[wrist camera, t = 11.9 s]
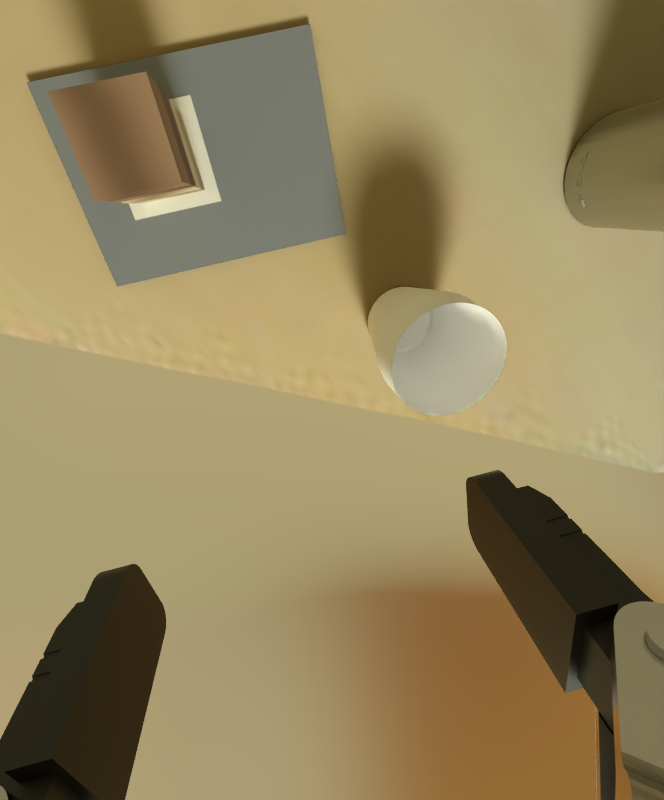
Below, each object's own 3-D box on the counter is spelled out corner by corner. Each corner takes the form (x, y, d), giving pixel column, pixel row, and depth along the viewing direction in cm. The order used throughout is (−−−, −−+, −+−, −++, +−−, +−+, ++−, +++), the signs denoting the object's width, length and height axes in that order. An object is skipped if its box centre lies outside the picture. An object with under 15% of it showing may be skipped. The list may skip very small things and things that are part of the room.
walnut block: (167, 96, 24) (145, 71, 20) (196, 186, 27) (181, 181, 22) (87, 112, 24) (47, 91, 20) (122, 201, 27) (93, 200, 22)
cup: (342, 295, 37) (372, 330, 26) (432, 258, 37) (499, 278, 26) (371, 376, 41) (407, 435, 31) (451, 343, 41) (517, 391, 30)
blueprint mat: (308, 27, 28) (310, 23, 28) (344, 233, 35) (345, 233, 34) (31, 84, 28) (25, 82, 27) (119, 285, 34) (116, 286, 33)
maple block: (181, 114, 29) (166, 97, 25) (205, 189, 31) (194, 186, 27) (114, 128, 29) (86, 114, 24) (142, 203, 31) (121, 203, 27)
